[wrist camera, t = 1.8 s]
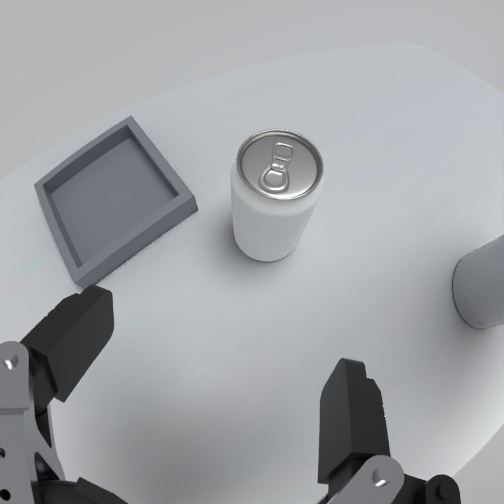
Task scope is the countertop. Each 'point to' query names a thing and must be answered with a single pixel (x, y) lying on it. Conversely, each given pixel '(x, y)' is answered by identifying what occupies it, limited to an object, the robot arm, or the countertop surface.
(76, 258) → the tray
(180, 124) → the countertop surface
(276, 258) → the can
